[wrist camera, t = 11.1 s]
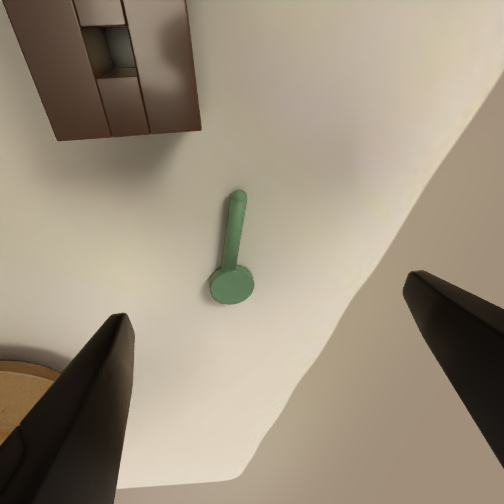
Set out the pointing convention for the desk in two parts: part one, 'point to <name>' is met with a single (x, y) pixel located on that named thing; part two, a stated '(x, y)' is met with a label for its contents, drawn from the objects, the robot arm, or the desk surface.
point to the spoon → (232, 259)
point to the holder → (109, 66)
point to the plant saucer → (21, 391)
